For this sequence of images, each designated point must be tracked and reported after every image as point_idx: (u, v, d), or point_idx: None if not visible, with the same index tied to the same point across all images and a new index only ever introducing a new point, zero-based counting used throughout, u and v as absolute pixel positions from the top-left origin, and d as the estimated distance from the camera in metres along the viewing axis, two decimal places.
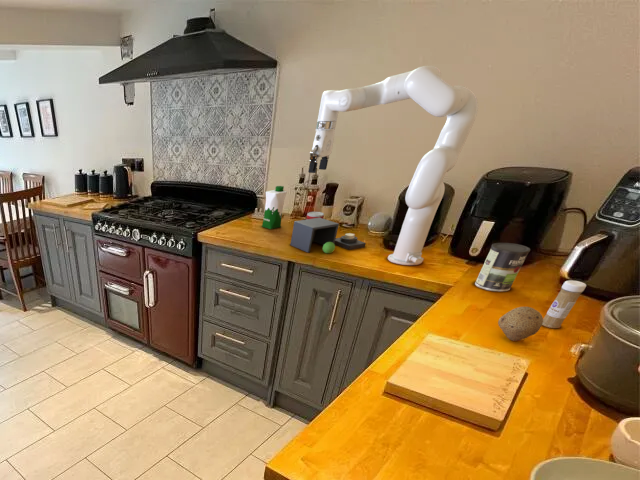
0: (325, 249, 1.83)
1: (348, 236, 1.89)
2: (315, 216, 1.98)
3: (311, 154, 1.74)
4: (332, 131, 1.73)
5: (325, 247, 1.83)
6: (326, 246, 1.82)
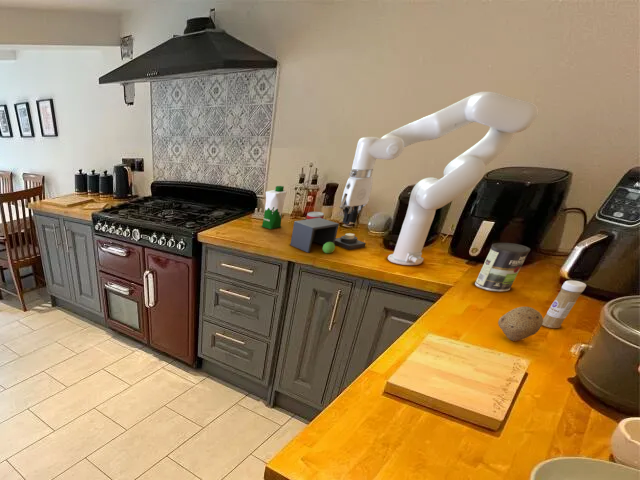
0: (325, 249, 1.83)
1: (348, 236, 1.89)
2: (315, 216, 1.98)
3: (341, 208, 1.66)
4: (367, 180, 1.59)
5: (325, 247, 1.83)
6: (326, 246, 1.82)
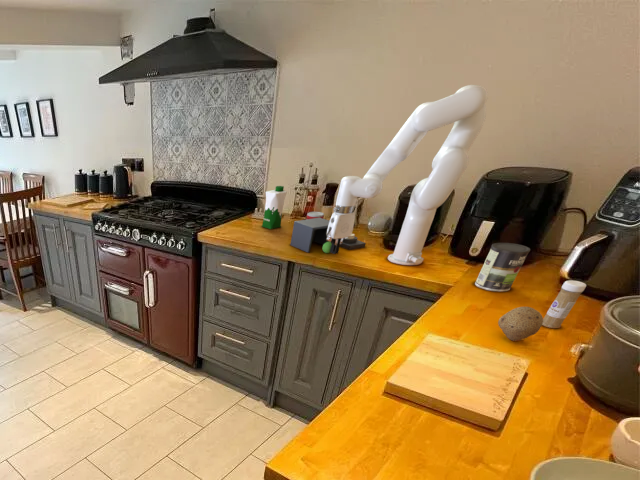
0: (325, 249, 1.83)
1: None
2: (315, 216, 1.98)
3: (328, 240, 1.77)
4: (350, 215, 1.71)
5: (325, 247, 1.83)
6: (325, 246, 1.83)
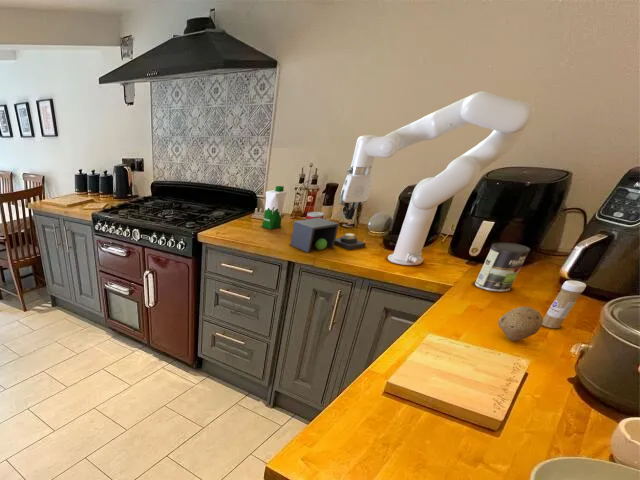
0: (318, 242, 1.87)
1: (348, 236, 1.89)
2: (315, 216, 1.98)
3: (341, 204, 1.72)
4: (365, 177, 1.64)
5: (316, 242, 1.88)
6: (316, 242, 1.88)
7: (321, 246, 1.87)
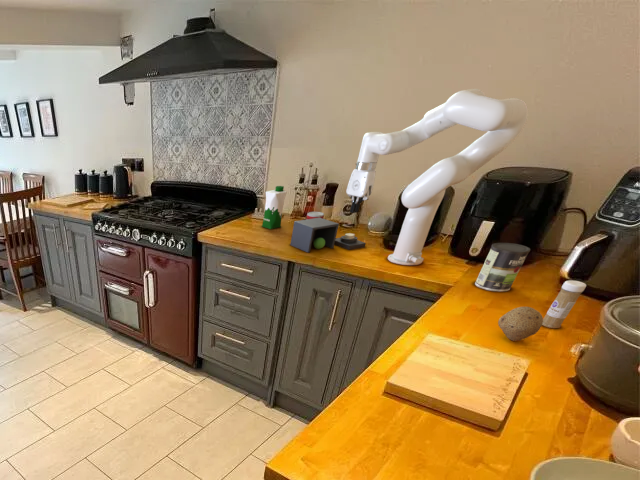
0: (315, 240, 1.89)
1: (348, 236, 1.89)
2: (315, 216, 1.98)
3: None
4: (362, 173, 1.72)
5: (314, 242, 1.90)
6: None
7: (320, 242, 1.87)
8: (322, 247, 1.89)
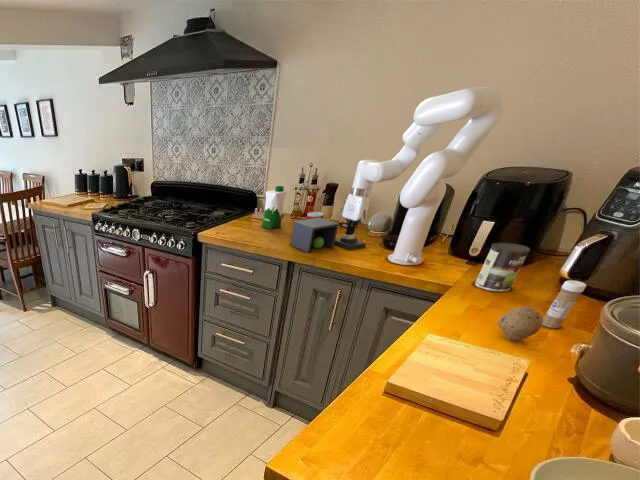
0: (313, 240, 1.90)
1: (348, 236, 1.89)
2: (315, 216, 1.98)
3: None
4: (356, 198, 1.79)
5: (312, 242, 1.91)
6: (312, 242, 1.92)
7: (318, 239, 1.88)
8: (322, 245, 1.89)
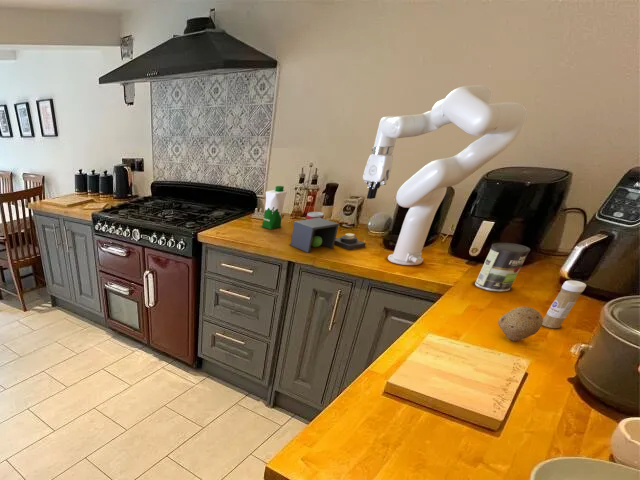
0: None
1: (348, 236, 1.89)
2: (315, 216, 1.98)
3: None
4: (379, 157, 1.71)
5: None
6: None
7: (315, 237, 1.90)
8: (321, 241, 1.90)
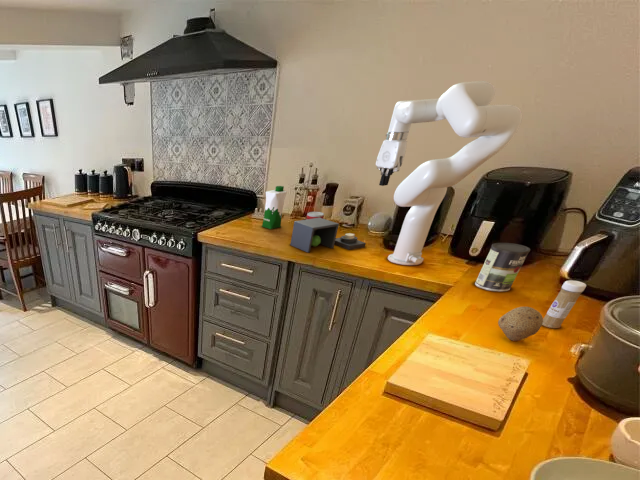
0: None
1: (348, 236, 1.89)
2: (315, 216, 1.98)
3: None
4: (392, 143, 1.69)
5: None
6: None
7: None
8: (319, 238, 1.91)
